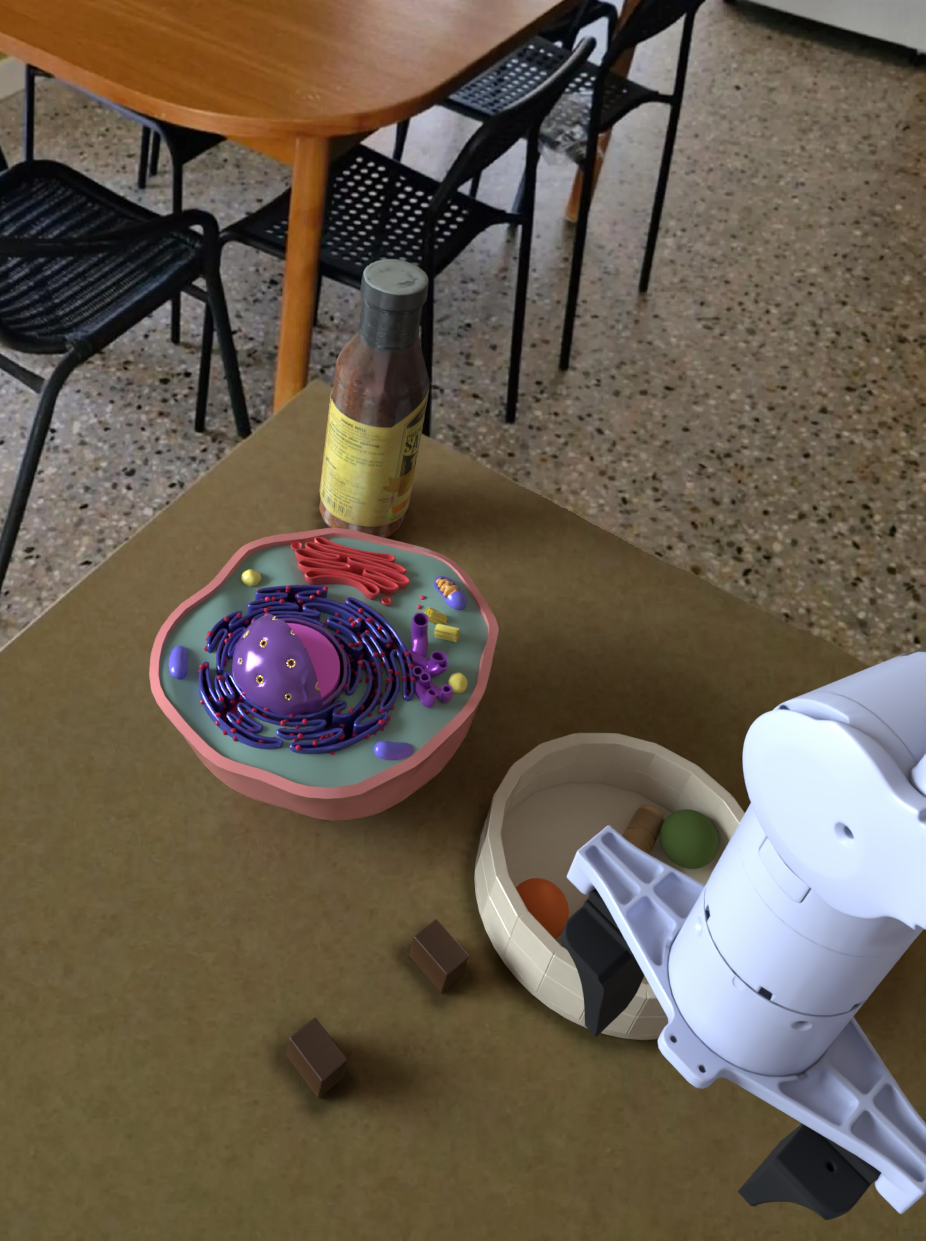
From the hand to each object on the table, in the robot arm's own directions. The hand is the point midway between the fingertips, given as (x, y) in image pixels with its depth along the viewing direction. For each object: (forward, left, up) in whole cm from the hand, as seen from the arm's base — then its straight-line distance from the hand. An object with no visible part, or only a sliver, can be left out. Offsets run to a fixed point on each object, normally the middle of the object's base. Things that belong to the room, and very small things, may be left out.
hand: (679, 1095), depth 50 cm
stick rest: (+12, +4, -9) cm, 16 cm away
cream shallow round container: (+9, -10, -9) cm, 16 cm away
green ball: (+8, -15, -7) cm, 19 cm away
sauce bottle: (+38, -18, -10) cm, 43 cm away
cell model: (+26, -4, -10) cm, 28 cm away
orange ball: (+10, -5, -7) cm, 14 cm away
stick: (+8, -10, -8) cm, 16 cm away
